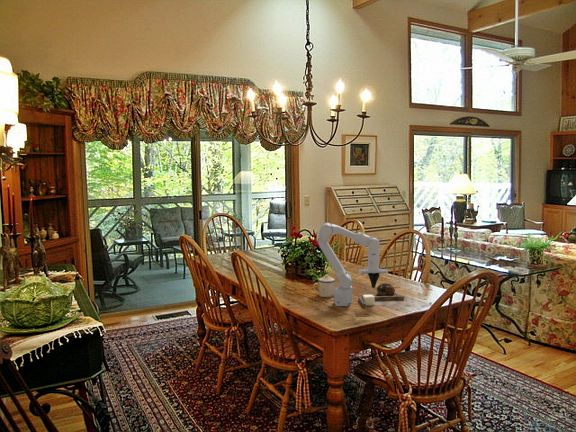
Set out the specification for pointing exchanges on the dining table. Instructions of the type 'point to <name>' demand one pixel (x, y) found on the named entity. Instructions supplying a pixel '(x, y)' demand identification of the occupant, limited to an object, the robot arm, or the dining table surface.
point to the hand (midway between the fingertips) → (373, 287)
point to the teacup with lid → (325, 286)
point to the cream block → (369, 299)
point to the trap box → (385, 301)
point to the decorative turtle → (385, 290)
